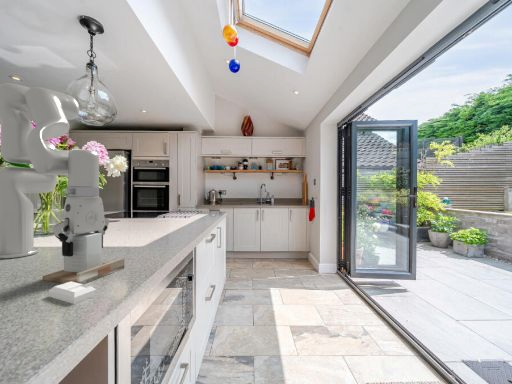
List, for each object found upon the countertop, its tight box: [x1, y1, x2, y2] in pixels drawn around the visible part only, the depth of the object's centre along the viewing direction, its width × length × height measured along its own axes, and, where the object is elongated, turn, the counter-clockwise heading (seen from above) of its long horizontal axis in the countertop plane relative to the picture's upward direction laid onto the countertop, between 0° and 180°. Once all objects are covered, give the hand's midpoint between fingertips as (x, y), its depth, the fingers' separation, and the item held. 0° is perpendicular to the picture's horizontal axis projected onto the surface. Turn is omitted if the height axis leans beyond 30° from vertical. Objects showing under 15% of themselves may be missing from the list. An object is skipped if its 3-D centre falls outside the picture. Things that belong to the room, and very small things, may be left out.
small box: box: [63, 232, 103, 273], centre depth 76 cm, size 8×6×10 cm
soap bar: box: [48, 281, 97, 305], centre depth 61 cm, size 5×9×3 cm, turn 67°
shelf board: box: [42, 257, 125, 285], centre depth 76 cm, size 13×15×3 cm
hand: (83, 251), depth 76 cm, fingers open, 9 cm apart
